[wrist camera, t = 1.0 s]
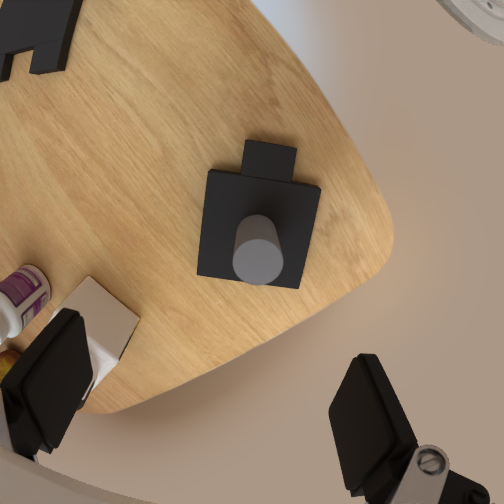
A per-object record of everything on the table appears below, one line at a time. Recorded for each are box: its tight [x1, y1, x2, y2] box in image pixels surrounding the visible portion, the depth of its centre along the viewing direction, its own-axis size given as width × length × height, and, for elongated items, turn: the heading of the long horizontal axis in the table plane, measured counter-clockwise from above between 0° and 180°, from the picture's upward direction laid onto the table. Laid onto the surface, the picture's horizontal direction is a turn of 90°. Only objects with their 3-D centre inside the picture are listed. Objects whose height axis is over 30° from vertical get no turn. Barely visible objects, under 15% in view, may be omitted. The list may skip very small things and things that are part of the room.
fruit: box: [0, 350, 21, 383], centre depth 28 cm, size 6×6×12 cm
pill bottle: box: [0, 265, 50, 345], centre depth 24 cm, size 5×5×10 cm
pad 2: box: [197, 140, 321, 289], centre depth 22 cm, size 12×9×8 cm
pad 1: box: [0, 0, 83, 82], centre depth 17 cm, size 12×12×2 cm
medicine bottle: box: [47, 276, 140, 410], centre depth 24 cm, size 7×7×12 cm
